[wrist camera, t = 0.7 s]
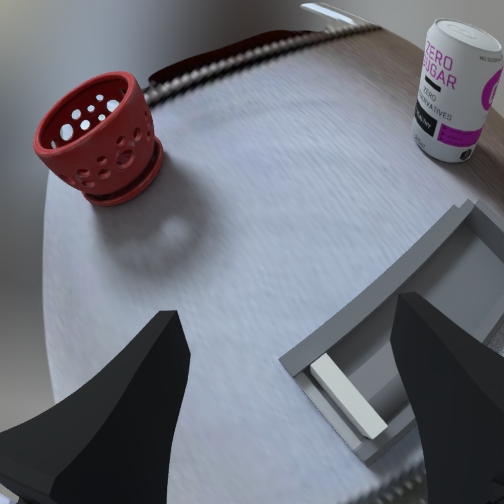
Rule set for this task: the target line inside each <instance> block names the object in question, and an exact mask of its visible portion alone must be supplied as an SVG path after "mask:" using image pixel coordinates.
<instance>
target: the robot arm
mask: <svg viewBox="0 0 504 504" xmlns="http://www.w3.org/2000/svg"><path fill="white" fill-rule="evenodd" d="M390 343H391V347H392V352H393V356H394V359H395V363H396V367H397V369H398V372H399V375H400V377H401V380H402V383H403V385H404V388H405V391H406V393H407V396H408V399H409V401H410V404H411V407H412V410H413V412H414V415H415V418H416V422H417V425H418V429H419V434H420V438H421V444H422V449H423V455H424V461H425V468H426V477H427V488H428V504H504V357H503V356H501V355H499V354H498V353H496V352H494V351H493V350H491V349H490V348H488V347H487V346H485V345H484V344H482V343H481V342H480V341H478V340H477V339H475V338H474V337H473V336H471V335H470V334H469V333H467V332H466V331H465V330H463V329H462V328H461V327H459V326H458V325H457V324H456V323H454V322H453V321H452V320H451V319H449V318H448V317H447V316H446V315H444V314H443V313H442V312H441V311H439V310H438V309H437V308H436V307H435V306H433V305H432V304H431V303H430V302H428V301H427V300H426V299H424V298H423V297H422V296H421V295H419V294H418V293H416V292H408V293H399V294H398V300H397V305H396V311H395V316H394V321H393V326H392V331H391V336H390ZM190 357H191V353H190V350H189V347H188V344H187V341H186V338H185V335H184V332H183V328H182V325H181V322H180V319H179V315H178V312H177V310H171V311H159V312H158V313H157V314H156V315H155V316H154V317H153V318H152V319H151V320H150V321H149V322H148V323H147V325H146V326H145V327H144V328H143V329H142V330H141V331H140V332H139V333H138V334H137V335H136V336H135V337H134V338H133V339H132V340H131V342H130V343H129V344H128V345H127V346H126V347H125V348H124V349H123V350H122V351H121V352H120V353H119V354H118V355H117V356H116V357H115V358H114V359H113V360H111V361H110V362H109V363H108V364H107V365H106V366H105V367H104V368H103V369H102V370H101V371H100V372H99V373H98V374H97V375H95V376H94V377H93V378H92V379H91V380H89V381H88V382H87V383H86V384H84V385H83V386H82V387H81V388H79V389H78V390H77V391H75V392H74V393H73V394H71V395H70V396H68V397H67V398H65V399H64V400H62V401H61V402H59V403H58V404H56V405H55V406H53V407H52V408H50V409H48V410H47V411H45V412H43V413H41V414H40V415H38V416H36V417H34V418H32V419H30V420H28V421H26V422H24V423H22V424H20V425H17V426H15V427H13V428H10V429H8V430H6V431H3V432H1V433H0V483H1V484H2V485H3V486H5V487H6V488H7V489H9V490H10V491H11V492H13V493H14V494H16V495H17V496H19V500H18V503H16V502H14V501H13V500H11V499H9V498H8V497H6V496H4V495H2V494H1V493H0V504H166V503H167V484H168V472H169V463H170V454H171V446H172V441H173V436H174V432H175V428H176V424H177V420H178V416H179V412H180V408H181V404H182V401H183V397H184V393H185V389H186V385H187V381H188V374H189V366H190Z"/></svg>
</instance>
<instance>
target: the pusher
mask: <svg viewBox="0 0 504 504" xmlns="http://www.w3.org/2000/svg"><path fill="white" fill-rule="evenodd" d="M310 373H311V374H312V376H313V377H314V378H315V379H316V380H317V382H318V383H319V384H320V385H321V387H322V388H323V389H324V390H325V391H326V393H327V394H328V395H329V396H330V397H331V399H332V400H333V401H334V402H335V403H336V405H337V406H338V407H339V408H340V409H341V411H342V412H343V413H344V414H345V415H346V417H347V418H348V419H349V420H350V421H351V423H352V424H353V425H354V426H355V427H356V429H357V430H358V431H359V432H360V433H361V434H362V435H363V436H366V437H368V438H370V439H374V438H375V437H376V436H377V435H378V434H380V433H381V432H382V431H383V430H384V429H385V428H387V427H388V426H387V424H386V423H385V422H384V421H383V420H382V419H381V417H380V416H379V415H378V414H377V413H376V412H375V410H374V409H373V408H372V407H371V406H370V404H369V403H368V402H367V401H368V400H369V399H370V398H372V397H373V396H374V395H375V394H376V393H377V392H378V391H380V390H381V389H382V388H383V387H384V386H385V385H386V384H387V383H388V382H389V381H391V380H392V379H393V378H394V377H395V376H396V375H397V374H398V373H399V372H398V369H397V367H396V363H395V359H394V356H393V352H392V347H391V343H390V341H389V342H388V343H387V344H386V345H385V346H383V347H382V348H381V349H380V350H379V351H378V352H377V353H376V354H375V355H374V356H372V357H371V358H370V359H369V360H368V361H367V362H366V363H364V364H363V365H362V366H361V367H360V368H359V369H358V370H356V371H355V372H354V373H353V374H352V375H350V376H349V377H348V378H347V377H346V376H345V375H344V374H343V373H342V371H341V370H340V369H339V368H338V367H337V365H336V364H335V363H334V362H333V361H332V360H331V358H330V357H329V356H328V355H327V354H326V353H325V354H324V355H322V356H321V357H320V358H319V359H317V360H316V361H315V362H314V363H312V364H311V365H310Z"/></svg>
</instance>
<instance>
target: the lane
mask: <svg viewBox="0 0 504 504" xmlns="http://www.w3.org/2000/svg"><path fill="white" fill-rule="evenodd" d="M408 292H416V293H418V294H419V295H421V296H422V297H423V298H424V299H426V300H427V301H428V302H430V303H431V304H432V305H433V306H435V307H436V308H437V309H438V310H439V311H441V312H442V313H443V314H444V315H446V316H447V317H448V318H449V319H451V320H452V321H453V322H454V323H456V324H457V325H458V326H459V327H461V328H462V329H463V330H465V331H466V332H467V333H469V334H470V335H471V336H473V337H474V338H475V339H477V340H478V341H480V342H481V343H482V344H484V345H485V346H487V344H488V343H489V342H490V340H491V339H492V338H493V336H494V335H495V334H496V332H497V331H498V329H499V328H500V326H501V325H502V324H503V322H504V222H503V221H502V220H501V219H500V218H499V217H498V216H497V215H496V214H495V213H494V212H493V211H492V210H491V209H490V208H489V207H488V206H486V205H485V204H484V203H483V202H482V201H481V200H480V199H479V200H478V201H477V203H476V204H473V203H472V202H471V201H470V200H469V199H467V200H466V201H465V203H464V204H463V205H462V206H461V207H460V208H458V207H456V206H455V205H453V206H452V207H451V208H450V209H449V210H448V211H447V212H446V213H445V214H444V215H443V216H442V217H441V218H440V219H439V220H438V221H437V222H436V223H435V224H434V225H433V226H432V227H431V228H430V229H429V230H428V231H427V232H426V233H425V234H424V235H423V236H422V237H421V238H420V239H419V240H418V241H417V242H416V243H415V244H414V245H413V246H412V247H411V248H410V249H409V250H408V251H407V252H406V253H405V254H403V255H402V256H401V257H400V258H399V259H398V260H397V261H396V262H395V263H394V264H393V265H392V266H391V267H389V268H388V269H387V270H386V271H385V272H384V273H383V274H382V275H381V276H379V277H378V278H377V279H376V280H375V281H374V282H373V283H372V284H370V285H369V286H368V287H367V288H366V289H365V290H364V291H362V292H361V293H360V294H359V295H358V296H357V297H355V298H354V299H353V300H352V301H351V302H350V303H348V304H347V305H346V306H345V307H344V308H342V309H341V310H340V311H339V312H338V313H336V314H335V315H334V316H333V317H332V318H330V319H329V320H328V321H327V322H325V323H324V324H323V325H322V326H321V327H319V328H318V329H317V330H315V331H314V332H313V333H312V334H310V335H309V336H308V337H307V338H305V339H304V340H303V341H301V342H300V343H299V344H298V345H296V346H295V347H294V348H292V349H291V350H290V351H288V352H287V353H286V354H284V355H283V356H282V357H280V358H279V359H278V360H279V361H280V362H281V364H282V365H283V366H284V368H285V369H286V370H287V371H288V373H289V374H290V375H291V376H292V378H293V379H294V380H295V381H296V383H297V384H298V385H299V386H300V388H301V389H302V390H303V391H304V393H305V394H306V395H307V396H308V398H309V399H310V400H311V401H312V403H313V404H314V405H315V406H316V407H317V409H318V410H319V411H320V412H321V414H322V415H323V416H324V417H325V418H326V420H327V421H328V422H329V423H330V424H331V426H332V427H333V428H334V429H335V430H336V432H337V433H338V434H339V435H340V436H341V438H342V439H343V440H344V441H345V442H346V443H347V445H348V446H349V447H350V448H351V449H352V451H353V452H354V453H355V454H356V455H357V456H358V458H359V459H360V460H361V461H362V462H363V463H364V464H365V466H367V467H368V466H369V465H371V464H372V463H373V462H374V461H376V460H377V459H378V458H379V457H381V456H382V455H383V454H384V453H385V452H387V451H388V450H389V449H390V448H391V447H392V446H394V445H395V444H396V443H397V442H398V441H399V440H400V439H401V438H403V437H404V436H405V435H406V434H407V433H408V432H409V431H410V430H411V429H412V428H413V427H414V426H415V425H417V422H416V418H415V415H414V412H413V410H412V407H411V404H410V401H409V399H408V396H407V393H406V391H405V388H404V385H403V383H402V380H401V377H400V375H399V373H398V374H397V375H396V376H395V377H394V378H393V379H392V380H391V381H389V382H388V383H387V384H386V385H385V386H384V387H383V388H382V389H381V390H380V391H378V392H377V393H376V394H375V395H374V396H373V397H372V398H370V399H369V400H368V401H367V402H368V403H369V404H370V406H371V407H372V408H373V409H374V410H375V412H376V413H377V414H378V415H379V416H380V417H381V419H382V420H383V421H384V422H385V423H386V424H387V426H388V427H387V428H385V429H384V430H383V431H382V432H381V433H380V434H378V435H377V436H376V437H375V438H374V439H370V438H368V437H366V436H363V435H362V434H361V433H360V432H359V431H358V430H357V429H356V427H355V426H354V425H353V424H352V423H351V421H350V420H349V419H348V418H347V417H346V415H345V414H344V413H343V412H342V411H341V409H340V408H339V407H338V406H337V405H336V403H335V402H334V401H333V400H332V399H331V397H330V396H329V395H328V394H327V393H326V391H325V390H324V389H323V388H322V387H321V385H320V384H319V383H318V382H317V380H316V379H315V378H314V377H313V376H312V374H311V373H310V365H311V364H312V363H314V362H315V361H316V360H317V359H319V358H320V357H321V356H322V355H324V354H325V353H326V354H327V355H328V356H329V357H330V358H331V360H332V361H333V362H334V363H335V364H336V365H337V367H338V368H339V369H340V370H341V371H342V373H343V374H344V375H345V376H346V377H347V378H348V377H349V376H350V375H352V374H353V373H354V372H355V371H356V370H358V369H359V368H360V367H361V366H362V365H363V364H364V363H366V362H367V361H368V360H369V359H370V358H371V357H372V356H374V355H375V354H376V353H377V352H378V351H379V350H380V349H381V348H382V347H383V346H385V345H386V344H387V343H388V342H389V341H390V336H391V331H392V326H393V321H394V316H395V311H396V305H397V300H398V294H399V293H408Z"/></svg>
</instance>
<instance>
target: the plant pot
mask: <svg viewBox="0 0 504 504" xmlns="http://www.w3.org/2000/svg"><path fill="white" fill-rule="evenodd" d="M121 88H122V89H124V90H125V91H126V92H127V93H126V95H125V94H124V93H123V92H122V91H121ZM97 95H102V96H103V100H97V99H96V96H97ZM110 100H116V101H118V102H119V103H120V104H119V105H118V107H117V108H116V109H115V110H114V111H113V112H111V111H109V110H108V109H107V102H108V101H110ZM90 105H93V106H94V107H95V108H94V110H93V111H91V112H89V111H88V110H87V108H88V107H89V106H90ZM76 109H78V110H80V112H81V115H80V117H79V118H77V119H73V118H72V112H73V111H74V110H76ZM101 114H103V115H105V119H104V120H103V121H100V120H99V119H98V117H99V115H101ZM84 120H88V121H89V122H90V126H89V127H88V129H86V130H83V129H81V127H80V125H81V123H82V121H84ZM65 124H70V125H71V126H72V128H73V134H72V136H71V138H70V139H68V140H63V139H62V138H61V136H60V129H61V127H62V126H63V125H65ZM52 141H54V142H55V145H56V149H53V147H52V145H51V142H52ZM33 147H34V151H35V153H36V154H37V155H38V157H39V158H40V159H41V160H42V161H43V162H44V163H45V165H46V166H47V167H48V168H49V169H50V170H51V171H52V172H53V173H54V174H56V175H57V176H58V177H59V178H60V179H61V180H63V181H64V182H66V183H67V184H68V185H70V186H72V187H73V188H75V189H77V190H80V191H82V194H83V196H84V197H85V198H86V200H88V201H89V202H90V203H92V204H95V205H98V206H113V205H117V204H120V203H123V202H126V201H128V200H130V199H132V198H133V197H135V196H137V195H138V194H139V193H141V192H142V191H143V190H144V189H145V188H146V187H147V186H148V185H149V184H150V183H151V182H152V181H153V179H154V178H155V176H156V175H157V173H158V171H159V169H160V167H161V164H162V160H163V147H162V144H161V142H160V140H159V139H158V138H157V137H156V136H155V135H154V125H153V120H152V115H151V112H150V109H149V107H148V105H147V104H146V101H145V98H144V95H143V92H142V90H141V88H140V86H139V84H138V82H137V81H136V79H135V78H134V76H133V75H131V74H130V73H128V72H122V71H118V72H109V73H105V74H101V75H99V76H96V77H94V78H92V79H90V80H88V81H86V82H84V83H82V84H81V85H79V86H77V87H76V88H74V89H73V90H71V91H70V92H69V93H67V94H66V95H65V96H64V97H63V98H62V99H60V100H59V101H58V102H57V103H56V104H55V105H54V106H53V107H52V108H51V109H50V111H49V112H48V113H47V114H46V115H45V117H44V118H43V120H42V121H41V123H40V125H39V126H38V128H37V131H36V133H35V136H34V142H33Z"/></svg>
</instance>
